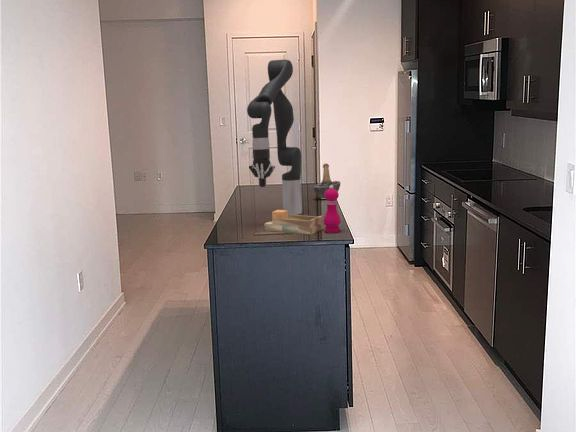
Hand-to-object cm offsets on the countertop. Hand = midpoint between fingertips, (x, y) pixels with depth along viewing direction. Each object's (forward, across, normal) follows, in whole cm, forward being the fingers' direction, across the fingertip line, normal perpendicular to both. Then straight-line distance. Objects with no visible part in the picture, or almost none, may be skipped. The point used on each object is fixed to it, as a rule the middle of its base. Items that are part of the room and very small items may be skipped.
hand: (262, 186), depth 274 cm
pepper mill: (+19, -32, -3) cm, 38 cm away
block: (+16, -8, 0) cm, 18 cm away
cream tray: (+18, -15, 0) cm, 24 cm away
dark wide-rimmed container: (+19, +6, -80) cm, 82 cm away
